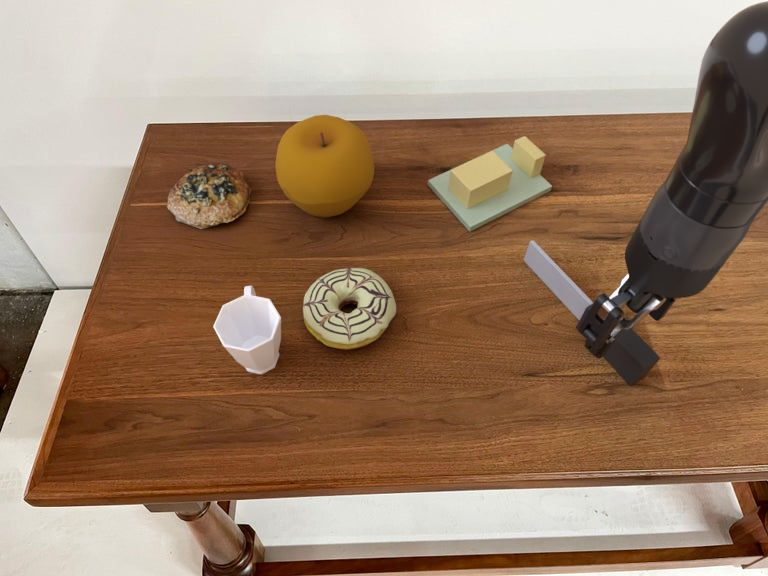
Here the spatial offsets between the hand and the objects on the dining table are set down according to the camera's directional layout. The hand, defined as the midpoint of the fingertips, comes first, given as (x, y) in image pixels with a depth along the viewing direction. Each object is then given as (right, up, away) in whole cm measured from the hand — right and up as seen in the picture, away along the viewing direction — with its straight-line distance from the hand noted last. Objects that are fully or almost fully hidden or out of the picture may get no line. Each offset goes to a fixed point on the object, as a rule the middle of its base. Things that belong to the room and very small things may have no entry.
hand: (623, 331), depth 64 cm
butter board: (-11, +19, +20) cm, 30 cm away
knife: (-2, +1, +9) cm, 9 cm away
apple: (-33, +17, +19) cm, 42 cm away
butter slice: (-5, +22, +21) cm, 31 cm away
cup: (-40, -2, +7) cm, 40 cm away
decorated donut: (-29, +1, +9) cm, 31 cm away
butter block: (-12, +18, +19) cm, 29 cm away
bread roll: (-49, +16, +19) cm, 55 cm away
